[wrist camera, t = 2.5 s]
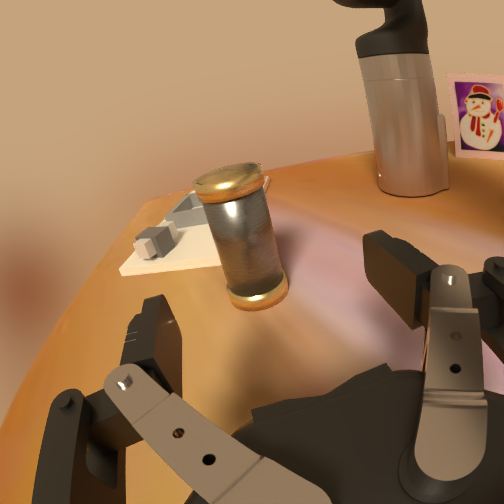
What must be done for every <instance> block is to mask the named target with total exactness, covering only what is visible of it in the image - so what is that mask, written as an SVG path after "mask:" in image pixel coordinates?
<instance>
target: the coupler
mask: <svg viewBox="0 0 504 504" xmlns="http://www.w3.org/2000/svg"><path fill="white" fill-rule="evenodd" d="M264 184H265V180H264V176H263V172H262V167H261V164H259V163H254V162H249V163H240V164H234V165H230V166H226V167H222V168H219V169H216V170H213V171H211V172H208V173H206V174H204V175H202V176H200V177H198V178H197V179H195V180H194V182H193V186H194V189H195V192H196V195H197V198H198V201H199V202H202V205H203V208H204V211H205V214H206V218H207V221H208V224H209V227H210V230H211V233H212V237H213V240H214V243H215V246H216V249H217V252H218V255H219V258H220V261H221V265H222V268H223V271H224V274H225V277H226V280H227V291H228V294H229V297H230V300H231V302H232V304H233V305H234V306H235V307H236V308H238V309H240V310H244V311H259V310H264V309H267V308H270V307H272V306H274V305H276V304H277V303H279V302H280V301H281V300H283V299H284V297H285V296H286V295H287V293H288V289H289V287H288V282H287V277H286V273H285V271H284V269H283V268H282V266H281V262H280V257H279V253H278V249H277V244H276V240H275V235H274V231H273V227H272V222H271V218H270V214H269V209H268V205H267V201H266V197H265V192H264V188H263V185H264Z"/></svg>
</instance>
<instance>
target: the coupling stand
mask: <svg viewBox="0 0 504 504" xmlns="http://www.w3.org/2000/svg"><path fill="white" fill-rule="evenodd" d="M261 167H262V166H261ZM262 172H263V169H262ZM263 176H264V173H263ZM264 180H265V184H264V185H263V188H264V192H265V193H266V190H267V188H268V185H269V183H270V180H269V176H267V177H264ZM164 217H165V219H164V220H163V221H162V222H161V223H160V224H159V225H157V226H156V227H148V228H147V229H146V230H144V231H143V232H142V233H140V234H139V235H138V236H136V237H135V238H136V240H137V241H136V242H135V243H134V244H133V245H134V248H135V252H134V253H133V254H132V255H131V256H130V257H129V258H128V259H127V260H126V262H125V263H124V264H123V265H122V266H121V267H120V268H119V270H120V273H121V275H122V276H131V275H140V274H149V273H158V272H167V271H176V270H185V269H194V268H203V267H212V266H220V265H221V261H220V258H219V255H218V252H217V249H216V246H215V243H214V240H213V237H212V233H211V230H210V227H209V224H208V221H207V218H206V214H205V211H204V208H203V205H202V202H199V201H198V198H197V195H196V192H195V190H194V191H192V192H191V193H190V194H186V195H185V196H184V197H183V198H182V199H181V200H180V201H179V202H178V203H177V204H176V205H175V206H174V207H173V208H172V209H171V210H170V211H169V212H168V213H167V214H166V215H165V216H164Z"/></svg>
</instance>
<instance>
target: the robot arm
mask: <svg viewBox="0 0 504 504" xmlns="http://www.w3.org/2000/svg"><path fill="white" fill-rule="evenodd" d="M333 1H334V2H336V3H337V4H339V5H342V6H345V7H351V8H384V13H385V23H384V24H383V25H382V26H381V27H379V28H378V29H375V30H373V31H371V32H368V33H366V34H363V35H361V36H360V37H358V38H357V39H356V42H355V46H356V51H357V55H358V58H359V64H360V68H361V73H362V77H363V81H364V86H365V93H366V98H367V103H368V109H369V115H370V121H371V127H372V134H373V141H374V148H375V156H376V164H377V175H378V182H379V188H380V189H381V190H382V191H384V192H386V193H389V194H393V195H398V196H425V195H430V194H434V193H437V192H439V191H440V190H443V189H449V166H448V147H447V134H446V123H445V117H444V115H443V114H439V110H438V103H437V96H436V89H435V83H434V78H433V71H432V66H431V60H430V56H429V50H428V45H427V37H428V29H427V22H426V17H425V13H424V9H423V5H422V0H333ZM363 253H364V267H365V273H366V277H367V279H368V281H369V283H370V284H371V285H372V286H373V287H374V288H375V289H376V290H377V291H378V292H379V294H380V295H381V296H382V297H383V298H384V299H385V300H386V301H387V302H388V303H389V305H390V306H391V307H392V308H393V309H394V310H395V311H396V312H397V314H398V315H399V316H400V317H401V318H402V319H403V320H404V321H405V323H406V324H407V325H408V326H409V327H410V328H411V329H412V330H414V329H416V328H418V327H420V326H422V325H423V326H424V327H425V332H424V342H423V352H422V360H421V368H420V371H417V370H398V371H391V369H390V368H389V366H388V365H387V363H385V364H382V365H380V366H378V367H375V368H373V369H370V370H368V371H366V372H363V373H361V374H358V375H356V376H354V377H353V378H351V379H350V380H348V381H346V382H345V383H343V384H342V385H340V386H339V387H337V388H336V389H334V390H332V391H331V392H329V393H327V394H325V395H322V396H315V397H307V398H299V399H289V400H284V401H281V402H277V403H274V404H270V405H267V406H263V407H260V408H256V409H252V410H251V411H252V416H253V420H252V421H250V422H248V423H246V424H245V425H243V426H242V427H240V428H239V429H238V430H236V431H235V432H234V433H233V434H232V435H231V436H230V435H229V434H227V433H226V432H224V431H223V430H222V429H220V428H219V427H218V426H216V425H215V424H214V423H212V422H211V421H210V420H208V419H207V418H206V417H204V416H203V415H202V414H200V413H199V412H198V411H197V410H195V409H194V408H193V407H192V406H190V405H189V404H188V403H187V402H185V401H184V400H183V399H182V336H181V332H180V329H179V326H178V324H177V322H176V320H175V317H174V315H173V313H172V311H171V309H170V307H169V304H168V302H167V300H166V298H165V296H164V295H163V294H161V295H158V296H154V297H151V298H147V299H145V300H144V302H143V307H142V312H141V314H137V315H135V316H134V318H133V319H132V321H131V322H130V323H129V326H128V330H127V335H126V339H125V342H126V343H124V348H123V352H122V357H121V362H120V366H119V367H117V368H115V369H114V370H112V371H111V372H110V373H109V374H108V376H107V377H106V379H105V381H104V388H103V389H102V390H100V391H97V392H95V393H93V394H91V395H88V396H86V397H85V396H84V395H83V394H82V393H81V391H79V390H78V389H68V390H65V391H63V392H61V393H60V394H59V395H58V396H57V397H56V398H55V399H54V400H53V402H52V404H51V407H50V411H49V414H48V418H47V423H46V427H45V431H44V435H43V440H42V445H41V449H40V454H39V460H38V465H37V471H36V476H35V483H34V489H33V497H32V504H126V479H125V462H126V447H128V446H130V445H132V444H135V443H137V442H139V441H142V440H145V441H146V442H147V443H148V444H149V445H150V447H151V448H152V449H153V450H154V451H155V452H156V453H157V454H158V455H159V456H160V457H161V458H162V459H163V460H164V461H165V462H166V463H167V464H168V465H169V466H170V467H171V468H172V469H173V470H174V471H175V472H176V473H177V474H178V475H179V476H180V477H181V478H182V479H183V480H184V481H185V482H186V483H187V484H188V485H189V486H190V487H191V488H192V489H193V491H192V493H191V494H190V496H189V497H188V499H187V500H186V502H185V503H184V504H504V395H502V394H498V393H494V392H491V391H487V390H484V379H483V355H482V341H481V338H482V340H483V341H484V342H485V343H486V344H487V345H488V346H489V348H490V349H491V350H492V351H493V352H494V353H495V354H496V356H497V357H498V358H499V359H500V360H501V361H502V363H503V364H504V257H491V258H488V259H487V260H486V261H485V263H484V268H483V272H478V273H472V274H467V272H466V271H465V270H464V269H462V268H461V267H458V266H455V265H441V266H439V265H438V264H437V263H435V262H434V261H433V260H431V259H430V258H429V257H427V256H426V255H425V254H423V253H420V251H419V250H418V249H416V248H414V246H412V245H411V244H410V243H408V242H407V241H404V240H401V239H398V238H392V237H391V236H390V235H388V234H387V233H385V232H384V231H383V230H378V231H374V232H371V233H368V234H365V235H364V236H363ZM86 450H87V451H86Z"/></svg>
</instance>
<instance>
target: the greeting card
mask: <svg viewBox="0 0 504 504" xmlns="http://www.w3.org/2000/svg"><path fill="white" fill-rule="evenodd" d="M447 78H448V84H449V90H450V98H451V106H452V115H453V125H454V137H455V154H456V157H458V158H479V159H494V160H504V76H500V75H487V74H466V73H447Z"/></svg>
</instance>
